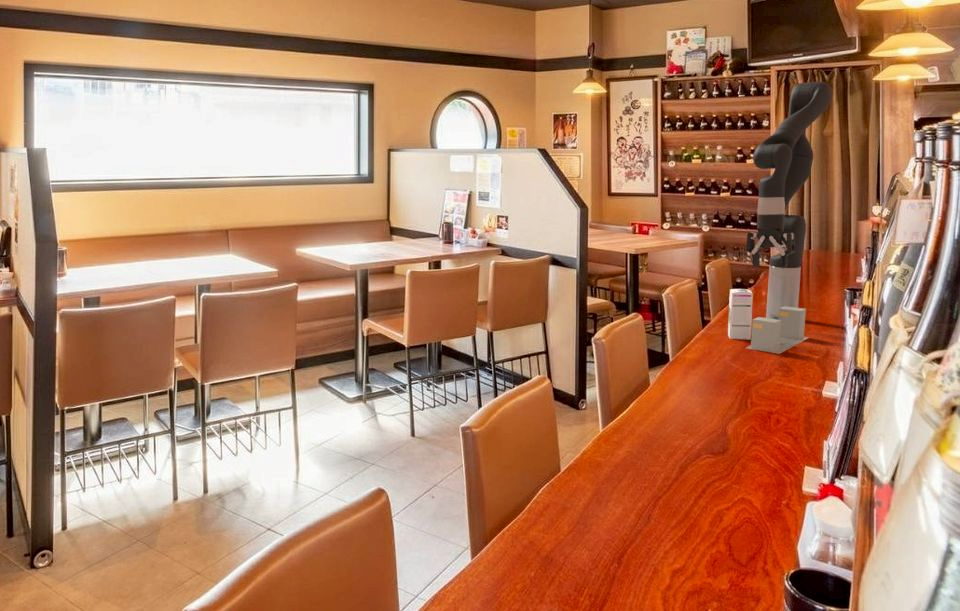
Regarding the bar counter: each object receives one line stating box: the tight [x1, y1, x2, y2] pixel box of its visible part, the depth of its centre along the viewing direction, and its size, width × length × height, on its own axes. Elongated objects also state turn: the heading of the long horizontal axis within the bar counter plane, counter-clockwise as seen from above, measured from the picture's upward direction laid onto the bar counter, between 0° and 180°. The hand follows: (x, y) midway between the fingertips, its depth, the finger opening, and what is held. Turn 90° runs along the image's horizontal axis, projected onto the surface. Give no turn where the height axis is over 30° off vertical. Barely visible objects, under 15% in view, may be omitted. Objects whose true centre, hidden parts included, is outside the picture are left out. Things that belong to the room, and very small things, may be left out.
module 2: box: [778, 306, 807, 339], centre depth 211 cm, size 4×6×8 cm
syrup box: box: [727, 288, 754, 340], centre depth 211 cm, size 6×6×14 cm
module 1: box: [750, 316, 781, 354], centre depth 197 cm, size 4×6×8 cm
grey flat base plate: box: [745, 336, 810, 355], centre depth 205 cm, size 23×9×1 cm, turn 138°
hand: (769, 267), depth 224 cm, fingers open, 8 cm apart
